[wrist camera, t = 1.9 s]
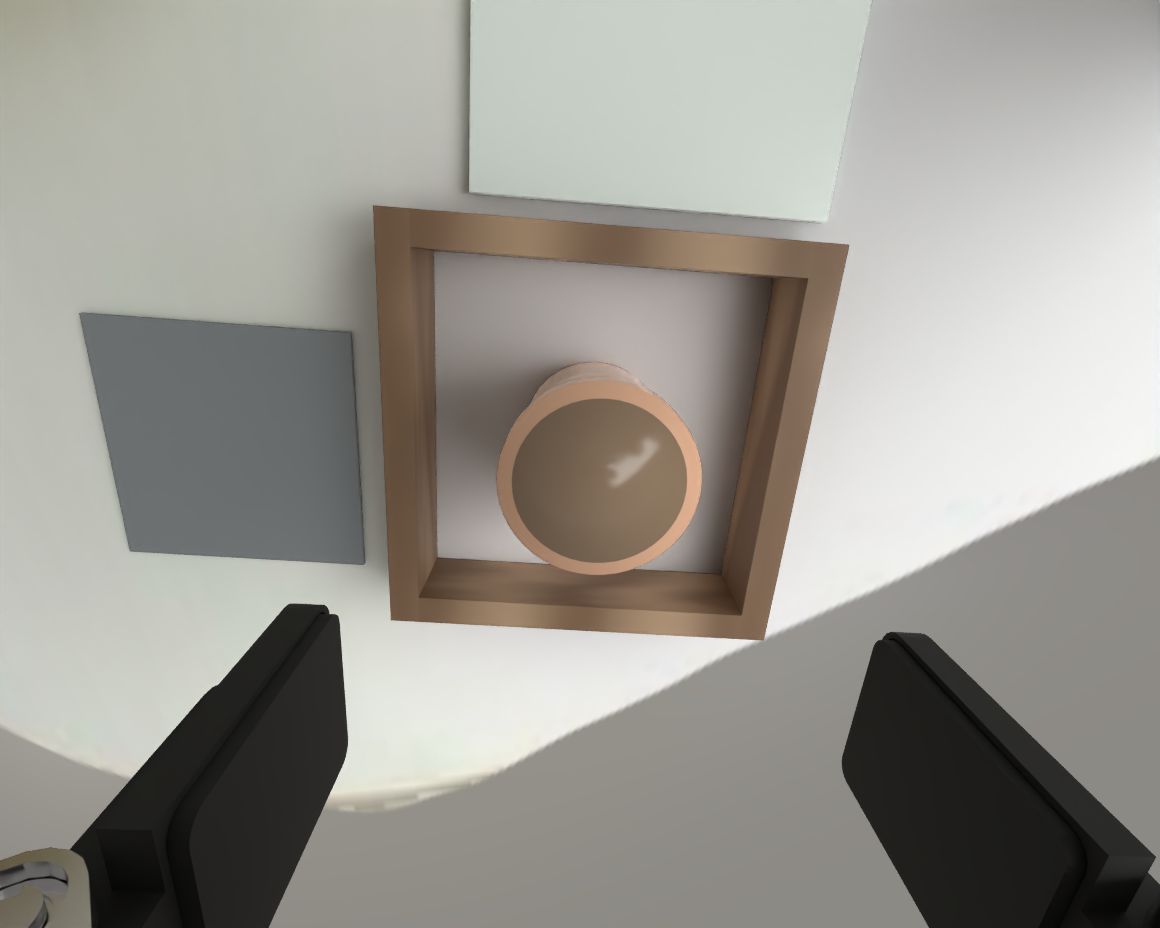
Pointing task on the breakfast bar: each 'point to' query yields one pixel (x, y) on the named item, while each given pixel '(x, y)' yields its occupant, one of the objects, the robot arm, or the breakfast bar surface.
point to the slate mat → (230, 437)
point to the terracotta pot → (598, 472)
